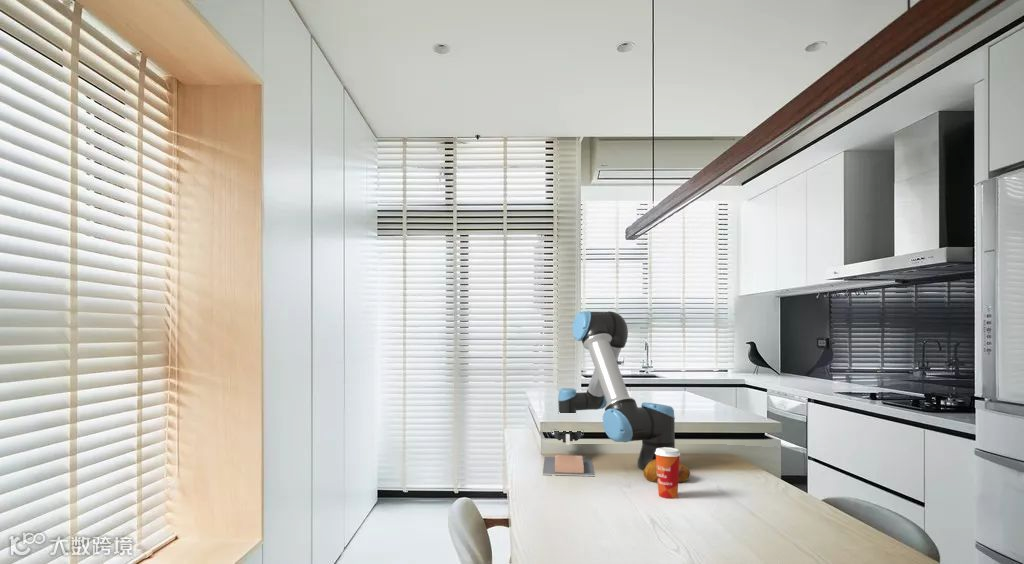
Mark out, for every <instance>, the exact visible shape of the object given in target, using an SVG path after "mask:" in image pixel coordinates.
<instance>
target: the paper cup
mask: <svg viewBox="0 0 1024 564" xmlns="http://www.w3.org/2000/svg"><path fill="white" fill-rule="evenodd" d="M655 454H656V465H657V480H658V482H657V489H658V492H657V493H658V497H660V498H664V499H668V500H670V499H677V498H678V495H679V493H678V492H679V482H678V476H679V461H680V456H681V453H680V450H679V449H678V448H676V447H675V448H668V447H664V448H657V449H656V452H655Z"/></svg>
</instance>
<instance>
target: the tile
mask: <svg viewBox="0 0 1024 564" xmlns="http://www.w3.org/2000/svg"><path fill="white" fill-rule="evenodd" d="M554 457H555V472H556V473H584V465H583V459H582V458H583V455H566V454H565V455H563V454H562V455H561V454H555V456H554Z"/></svg>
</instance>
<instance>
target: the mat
mask: <svg viewBox="0 0 1024 564" xmlns="http://www.w3.org/2000/svg"><path fill="white" fill-rule="evenodd" d="M543 459H544V460H543V468H542V475H549V476H552V475H555V476H557V477H559V476H560V477H562V476H563V477H579V476H586V477H588V478H589V477H592V478H593V477H596V473H595V470H594V465H593V461H592V457H582V459H583V465H584V473H556V472H555V456H544V458H543ZM552 477H553V476H552Z"/></svg>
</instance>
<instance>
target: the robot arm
mask: <svg viewBox="0 0 1024 564" xmlns="http://www.w3.org/2000/svg"><path fill="white" fill-rule="evenodd" d="M572 334H573V338H574V340H576V341H578V342H581V343H582V346H583V348H584V349H585V350H587V351H588V352H589V356H590V358H591V361H592V363H593V366H594V370H593V371H592V372H593V373H592V375H591V379H590V381H589V383H588V387H587V390H586V391H585V392H584V391H583V392H577V391H576V388H569V387H568V388H567V387H565V388H560V389H559V390H558V396H557V397H558V398H557V402H558V413H559V412H560V413H576V414H577V411H588V410H590V411H591V410H592V411H593V410H595V411H596V410H601V409H604V413H603V415H602V427H603V429H604V432H605V434H606V435H607V436H606V437H608V438H609V439H610V440H612V441H614V442H615V443H629V442H639V441H641V443H642V444H641V448H640V451H639V456H638V458H637V468H639V469H640V470H642V471H644V469H645V468H646V466H647V464H648V463H649V462H650V461H651V460H654V459H656V454H655V452H656V449H657V448H664V447H668V448H675V449H676V446H675V445H676V442H675V432H676V431H675V419H676V418H675V409H674V408H673V407H672V406H671V405H667V404H661V403H653V402H642V403H641V407H638V405H637V402H636V400H635V399H634V398H633V397H630V395H629V393H628V390H627V386H626V384H625V381H624V379H623V375H622V372H621V369H620V368H619V365H618V358H619V356H620V353H621V350H622V349H623V348H625V347H626V343H627V341H628V337H629V329H628V324H627V322H626V320H625V319H624V317H623V316H622V315H620V314H619V313H618V312H615V311H609V310H608V311H590V310H586V311H580V312H578V313H577V314H576V315H575V317H574V320H573V324H572ZM551 437H554V438H556V440H558V441H561V440H562V443H565V445H567V446H569V445H571V442H573V441H575V442H577V441H578V440H580V439H581V438H583V437H584V433H583V434H582V432H581V431H577V432H576V433H575V434H574V433H573V432H572V431H569V432H566V431H563V432H562V433H560V432H559V431H554V432H553V433H552V432H551Z"/></svg>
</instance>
